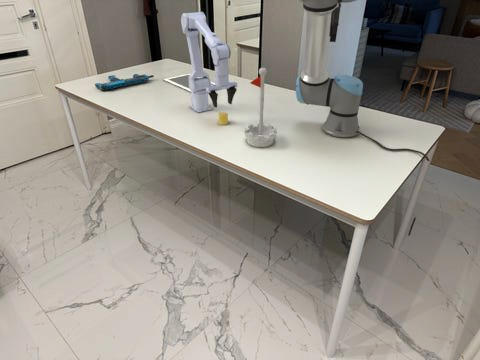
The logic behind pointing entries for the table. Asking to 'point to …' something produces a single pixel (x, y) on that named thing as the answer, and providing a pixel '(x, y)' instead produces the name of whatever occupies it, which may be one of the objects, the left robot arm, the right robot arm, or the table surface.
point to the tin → (223, 118)
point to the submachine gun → (122, 81)
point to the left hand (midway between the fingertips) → (222, 105)
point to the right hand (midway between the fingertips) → (331, 39)
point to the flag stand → (260, 120)
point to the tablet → (182, 81)
